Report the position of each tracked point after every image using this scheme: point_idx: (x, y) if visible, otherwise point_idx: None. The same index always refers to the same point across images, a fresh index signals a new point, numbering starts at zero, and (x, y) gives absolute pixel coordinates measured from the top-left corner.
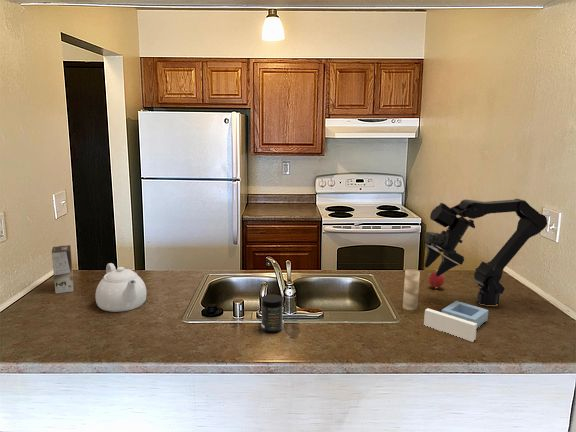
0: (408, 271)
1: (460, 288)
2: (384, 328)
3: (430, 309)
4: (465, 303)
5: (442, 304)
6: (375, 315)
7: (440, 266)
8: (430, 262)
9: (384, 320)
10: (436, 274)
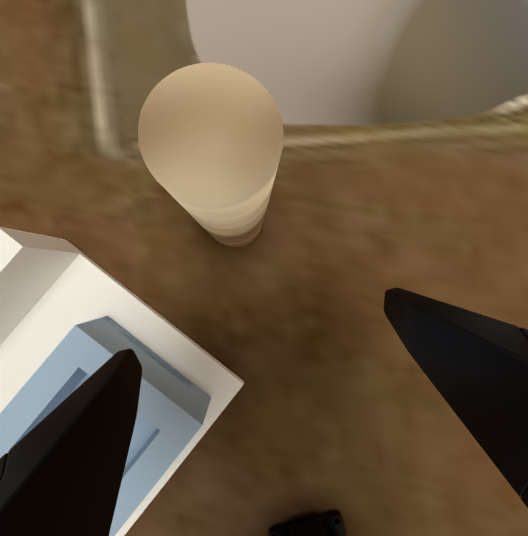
0: (214, 94)
1: (494, 485)
2: (41, 91)
3: (6, 256)
4: (171, 463)
5: (302, 363)
6: (158, 75)
7: (16, 452)
8: (431, 361)
9: (114, 102)
10: (116, 355)
